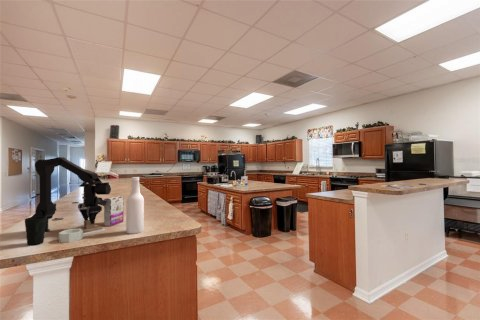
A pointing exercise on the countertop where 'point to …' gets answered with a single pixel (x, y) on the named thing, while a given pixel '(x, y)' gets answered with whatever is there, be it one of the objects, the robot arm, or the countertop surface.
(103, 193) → the robot arm
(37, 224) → the cup
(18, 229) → the countertop surface
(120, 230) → the countertop surface
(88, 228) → the lid
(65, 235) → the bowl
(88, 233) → the mat
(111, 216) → the candy bar box
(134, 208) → the alcohol
